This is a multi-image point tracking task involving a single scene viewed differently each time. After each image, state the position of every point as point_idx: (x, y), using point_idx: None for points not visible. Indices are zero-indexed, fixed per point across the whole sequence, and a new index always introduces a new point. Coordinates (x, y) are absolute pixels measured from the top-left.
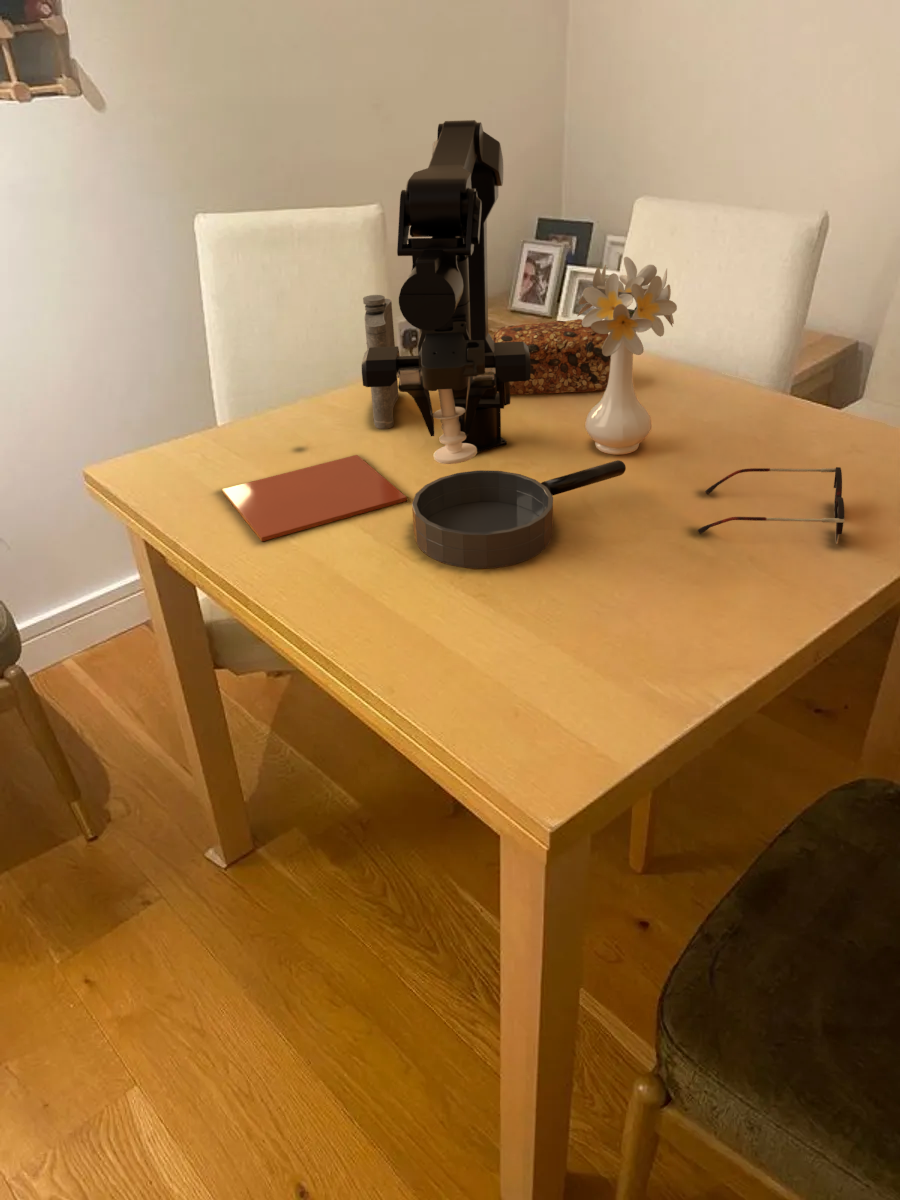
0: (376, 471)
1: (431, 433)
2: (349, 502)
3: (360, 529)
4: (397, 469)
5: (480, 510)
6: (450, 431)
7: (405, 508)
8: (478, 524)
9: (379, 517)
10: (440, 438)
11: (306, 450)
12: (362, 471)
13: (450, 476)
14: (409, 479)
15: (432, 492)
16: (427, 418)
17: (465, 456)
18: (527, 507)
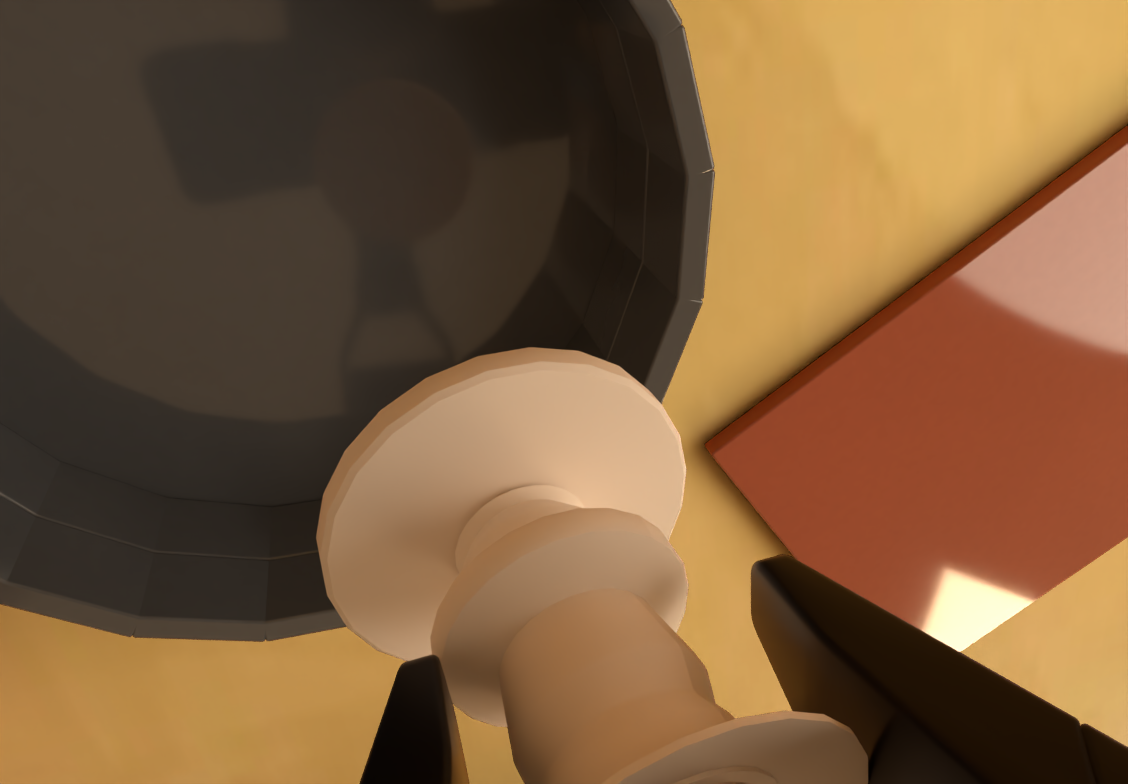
0: None
1: (793, 572)
2: (943, 365)
3: (891, 165)
4: (756, 652)
5: (345, 416)
6: (603, 635)
7: (703, 384)
8: (317, 278)
9: (810, 288)
10: (679, 576)
11: (1047, 681)
12: (887, 596)
13: None
14: (706, 600)
15: None
16: (947, 682)
17: (392, 434)
18: (89, 476)
